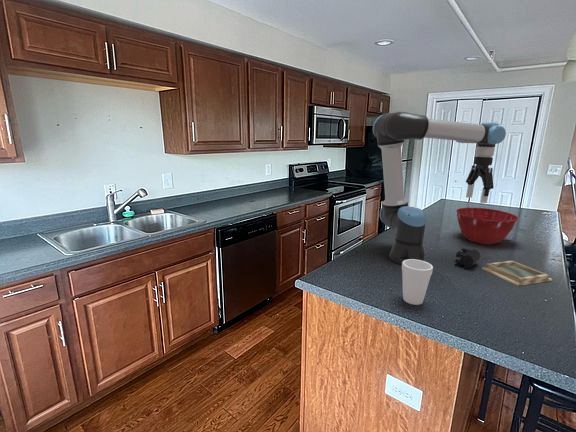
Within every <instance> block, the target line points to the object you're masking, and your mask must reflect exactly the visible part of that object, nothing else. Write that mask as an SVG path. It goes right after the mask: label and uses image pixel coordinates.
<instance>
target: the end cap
mask: <svg viewBox="0 0 576 432" xmlns="http://www.w3.org/2000/svg"><path fill="white" fill-rule="evenodd" d="M455 257H456V258H455V260H454V263H455V264H454V266H455V267H458V268H460V269H465V270H467V269H469V268H471V267H473V266H474V265H475V264H476V263H477V262H478V261H480V259H481V254H480V252H479V250H477V249H475V248H473V249H468V248H463V247H462V248H461V251H459V250H458V251H457V252H456V253H455ZM457 258H459V259H457Z"/></svg>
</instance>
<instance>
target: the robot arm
mask: <svg viewBox="0 0 576 432" xmlns="http://www.w3.org/2000/svg"><path fill="white" fill-rule="evenodd" d="M372 133H373V136H374V137H375V138H376V142H377V146H378V147H379V149H380V150H381V158H382V173H383V174H382V175H383V186H384V198H385V199H384V200H383V201H382V203H381V204H382V205H381V208H380V210H379V218H380V221H381V222H382V223H383V224H384V225H385V226H386V227H388V228H389V229H392V230H393V231H395V238H394V242H393V245H392V246H391V247H392V248H391V250H390V251H389V254H388V255H389V256H388V257H389V260H391V261H392V262H394V263H396V264H399V265H402V262H403V261H404V260H408V259H416V260H422V261H425V260H426V257H425V251H424V248H423V247H424V246H423V243H424V235H425V228H426V224H427V214H426V212H425V211H424V210H423V209H421V208H419V207H414V206H409V201H408V199H407V198H405V191H404V187H405V186H404V173H403V171H404V170H403V155H402V147H403V145H404V144H405V140H406V141H407V140H416V141H417V140H420V141H421V140H423V139H425V138H426V139H436V140H443V141H444V140H445V141H446V140H447V141H455V142H456V143H461V144H476V147H475V148H476V149H475V157H474V160H473V164H472V166H471V169H470V171H469V174H468V176H467V177H466V180H465V183H467V189H466V193H465V194H466V195H465V198H470V199H472V198H473V193H474V187H475V182H476V181H477V180H478V178H479V177H480V178H481V180H482V186H483V187H482V192H481V195H480V202H479V203H480V204H487V203H488V198H489V195H490V190H492V189H494V177H493V170H494V169H493V167H489V166H492V164H493V160H494V159H493V156H494V154H495V152H496V151H495V149H496V145H497V144H498V145H499V144H501V143H502V142H503V141H504V140H505V139H506V134H507V132H506V128H505V127H504V126H502V125H499V123H498V122H481V123H480V124H478V123H471V122H470V123H469V122H462V121H460V122H459V121H453V120H452V121H451V120H443V119H434V118H433V119H432V118H429V117H428V116H427V115H422V114H418V113H417V114H416V113H410V112H405V111H396V112H387V113H383V114H381V115H380V116H378V117H377V118H376V119H375V121H374V122H373V124H372ZM425 262H426V261H425Z"/></svg>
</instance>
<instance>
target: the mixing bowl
mask: <svg viewBox="0 0 576 432" xmlns="http://www.w3.org/2000/svg"><path fill="white" fill-rule="evenodd" d="M455 211H456V216H457V217H456V218H457V221H458V223H457V224H458V226H459V229H460V232H461V233H462V236H464V237H465V238H466V239H467V240H468V241H470V242H471V243H472V242H473V243H475V244H479V245H485V246H486V245H495V244H499V243H500V242H502V241H504V240H505V238H507V236H508V235H509V234H510V233H511V231H512V230H513V228H514V227H515V225H516V223H517V221H518V220H519V216H517V215H516V214H513V213H511V212H508V211H503V210H497V209H493V208H492V209H491V208H485V207H484V208H483V207H461V208H457V209H456V210H455Z"/></svg>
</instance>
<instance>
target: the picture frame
mask: <svg viewBox="0 0 576 432" xmlns="http://www.w3.org/2000/svg"><path fill="white" fill-rule="evenodd" d="M481 270H482V271H485V272H487V273H489V274H491V275H492V276H495V277H497V278H499V279H502V280H504V281H506V282H508V283H510V284H512V285H514V286H517V287H519V286H528V285H532V284H533V285H535V284H541V283H547V282H552V281H553V278H551V277H550V275H549V274H547V273H546V272H542V271H540V270H538V269H535V268H532V267H530V266H527V265H525V264H522V263H519V262H518V261H515V260H506V261H499V262H497V261H496V262H489V263H486V265H485V267H481Z"/></svg>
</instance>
